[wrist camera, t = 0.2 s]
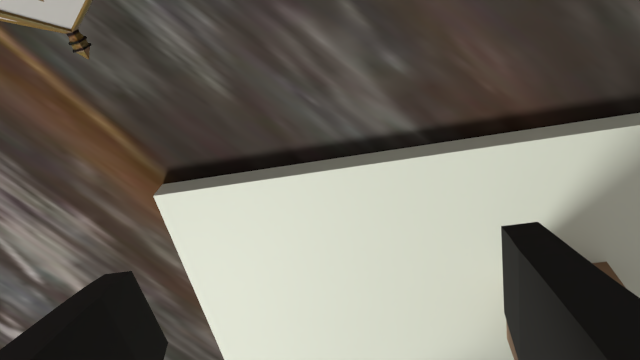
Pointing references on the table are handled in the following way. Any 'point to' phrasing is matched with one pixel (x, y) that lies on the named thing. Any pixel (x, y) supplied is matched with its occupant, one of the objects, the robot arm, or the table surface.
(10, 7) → the game die
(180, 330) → the table surface
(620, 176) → the board
